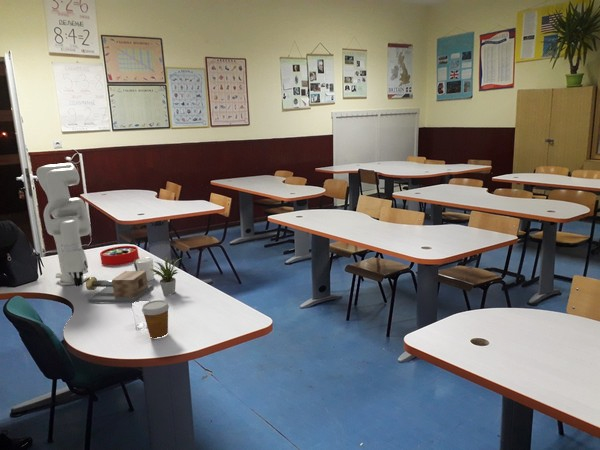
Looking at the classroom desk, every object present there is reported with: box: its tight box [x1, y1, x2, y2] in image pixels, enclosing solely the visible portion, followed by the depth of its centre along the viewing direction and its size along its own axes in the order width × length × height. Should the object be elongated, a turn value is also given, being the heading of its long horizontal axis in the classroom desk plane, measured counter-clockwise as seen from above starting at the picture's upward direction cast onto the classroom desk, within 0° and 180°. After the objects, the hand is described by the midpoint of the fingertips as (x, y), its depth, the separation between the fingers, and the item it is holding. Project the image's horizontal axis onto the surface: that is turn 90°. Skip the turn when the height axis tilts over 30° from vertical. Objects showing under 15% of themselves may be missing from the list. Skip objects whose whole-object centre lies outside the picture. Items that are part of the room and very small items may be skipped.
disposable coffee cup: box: [141, 299, 170, 339], centre depth 177 cm, size 10×10×12 cm
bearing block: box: [111, 270, 149, 297], centre depth 220 cm, size 10×12×8 cm
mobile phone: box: [133, 258, 139, 271], centre depth 257 cm, size 5×3×15 cm
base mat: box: [87, 284, 154, 304], centre depth 222 cm, size 22×18×2 cm
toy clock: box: [99, 245, 140, 267], centre depth 277 cm, size 20×6×20 cm
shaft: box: [85, 276, 113, 291], centre depth 222 cm, size 18×6×6 cm, turn 81°
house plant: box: [150, 257, 182, 296], centre depth 220 cm, size 14×14×16 cm
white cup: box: [136, 257, 155, 282], centre depth 241 cm, size 8×8×10 cm
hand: (78, 285), depth 224 cm, fingers closed
